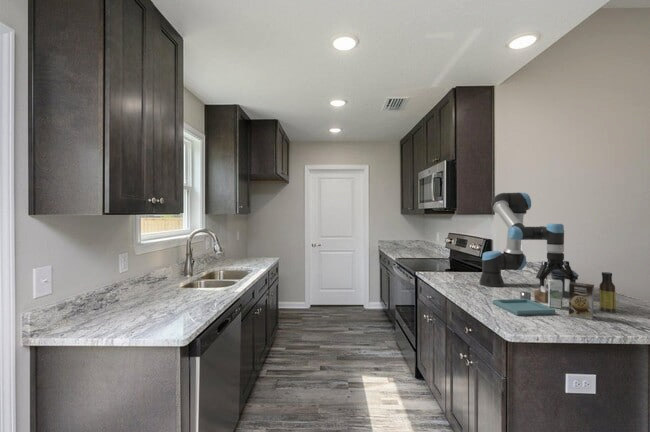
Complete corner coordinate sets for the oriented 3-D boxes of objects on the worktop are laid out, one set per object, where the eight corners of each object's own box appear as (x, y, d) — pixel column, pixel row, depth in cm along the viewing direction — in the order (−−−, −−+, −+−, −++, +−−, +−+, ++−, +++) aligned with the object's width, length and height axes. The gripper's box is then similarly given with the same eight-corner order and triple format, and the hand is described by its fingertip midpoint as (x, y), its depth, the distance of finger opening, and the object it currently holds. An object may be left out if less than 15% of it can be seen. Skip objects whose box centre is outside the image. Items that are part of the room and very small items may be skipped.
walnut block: (534, 300, 185) (534, 290, 185) (541, 299, 187) (541, 289, 187) (544, 303, 179) (544, 292, 179) (552, 302, 181) (552, 291, 181)
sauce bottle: (607, 309, 168) (607, 271, 167) (619, 312, 161) (619, 273, 161) (596, 309, 167) (596, 271, 167) (607, 313, 161) (607, 273, 161)
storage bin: (580, 300, 183) (580, 276, 183) (547, 297, 191) (548, 273, 191) (572, 292, 202) (573, 269, 202) (543, 289, 209) (543, 268, 209)
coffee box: (568, 316, 157) (568, 283, 157) (570, 313, 161) (570, 281, 161) (592, 320, 150) (592, 286, 150) (594, 317, 155) (594, 284, 155)
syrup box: (561, 306, 173) (561, 279, 173) (562, 309, 168) (562, 281, 168) (548, 304, 176) (548, 278, 176) (549, 307, 171) (549, 280, 170)
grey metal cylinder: (518, 300, 185) (518, 291, 185) (526, 299, 186) (526, 291, 186) (524, 302, 180) (524, 293, 180) (532, 302, 181) (532, 293, 181)
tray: (492, 304, 178) (492, 299, 178) (527, 303, 179) (527, 298, 179) (517, 315, 158) (517, 310, 158) (555, 314, 159) (555, 309, 159)
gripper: (538, 253, 167) (538, 293, 167) (583, 252, 169) (583, 292, 169) (528, 251, 174) (528, 290, 174) (571, 251, 176) (571, 289, 176)
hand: (555, 291), depth 171 cm, fingers open, 13 cm apart
